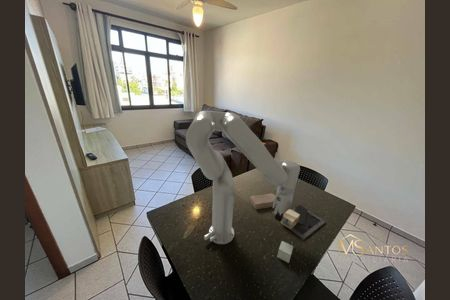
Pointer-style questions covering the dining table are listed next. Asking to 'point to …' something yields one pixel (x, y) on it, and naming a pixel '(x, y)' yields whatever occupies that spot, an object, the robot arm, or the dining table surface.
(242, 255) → the dining table surface
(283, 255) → the sage block
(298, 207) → the picture frame
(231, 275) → the dining table surface
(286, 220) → the maple block
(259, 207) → the brick
